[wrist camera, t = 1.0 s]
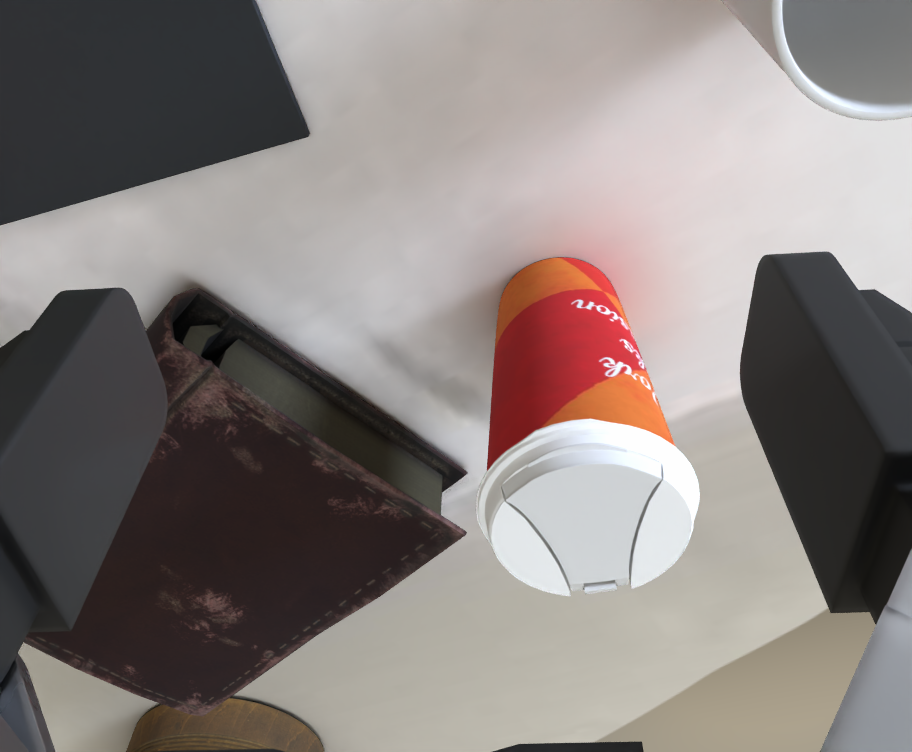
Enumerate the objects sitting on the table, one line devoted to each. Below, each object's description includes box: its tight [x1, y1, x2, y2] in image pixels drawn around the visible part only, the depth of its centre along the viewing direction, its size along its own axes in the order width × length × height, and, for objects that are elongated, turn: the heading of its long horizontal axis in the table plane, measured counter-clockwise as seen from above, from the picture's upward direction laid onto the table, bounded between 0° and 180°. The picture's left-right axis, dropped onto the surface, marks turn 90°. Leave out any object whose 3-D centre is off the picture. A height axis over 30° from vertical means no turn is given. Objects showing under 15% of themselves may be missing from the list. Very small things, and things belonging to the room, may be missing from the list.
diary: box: [23, 289, 467, 717], centre depth 45 cm, size 19×25×5 cm
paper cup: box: [476, 257, 700, 596], centre depth 33 cm, size 8×8×14 cm
